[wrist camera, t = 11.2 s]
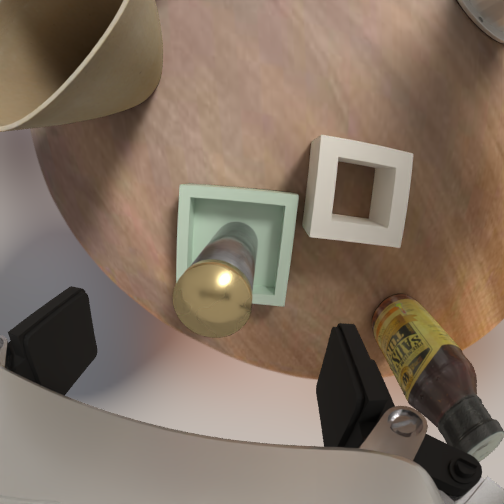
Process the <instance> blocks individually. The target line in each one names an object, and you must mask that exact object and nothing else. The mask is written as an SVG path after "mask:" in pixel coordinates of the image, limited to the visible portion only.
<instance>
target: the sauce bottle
mask: <svg viewBox="0 0 504 504" xmlns="http://www.w3.org/2000/svg"><path fill="white" fill-rule="evenodd" d="M372 326H373V328H372V329H373V332H374V337H375V339H376V341H377V343H378V345H379V347H380V349H381V351H382V353H383V354H384V356H385V358H386V360H387V362H388V364H389V366H390V368H391V370H392V371H393V374H394V375H395V377H396V379H397V381H398V383H399V385H400V387H401V389H402V391H403V393H404V395H405V397H406V399H407V401H408V403H409V404H410V405H411V406H412V407H414V408H415V409H416V410H417V411H419V412H420V413H421V414H423V415H424V416H425V417H427V418H428V419H429V420H430V421H431V422H432V423H433V424H434V425H435V426H436V427H438V430H439V431H440V433H441V434H442V435H443V437H444V438H445V440H446V442H447V444H448V445H450V446H452V447H455V448H457V449H459V450H461V451H463V452H466V453H468V454H470V455H472V456H473V457H475V458H476V459H477V460H478V461H479V462H480V461H481V460H483V459H484V458H485V457H487V456H488V455H489V454H490V453H491V452H492V451H493V450H494V449H495V448H496V447H497V446H498V445H499V444H500V442H501V441H502V439H503V437H504V431H503V429H502V427H501V426H500V424H499V422H498V421H497V420H494V419H492V418H491V416H490V414H489V413H488V411H487V410H486V408H485V407H484V405H483V404H482V401H481V399H480V398H479V397H478V396H477V389H476V387H477V384H476V383H477V380H476V373H475V370H474V367H473V366H472V364H471V363H470V362H469V360H468V359H467V358H466V357H465V356H464V355H463V353H462V350H461V349H460V348H459V346H458V345H457V344H456V343H455V342H454V341H453V340H452V339H451V337H450V336H449V335H448V334H447V333H446V332H445V331H444V329H443V328H442V327H441V326H440V325H439V324H438V323H437V321H436V320H435V319H434V318H433V317H432V316H431V315H430V314H429V313H428V312H427V311H426V309H425V308H424V307H423V306H422V305H421V304H420V303H419V302H417V301H416V300H415V299H414V298H412V297H410V296H408V295H405V294H397V295H393V296H391V297H389V298H387V299H386V300H384V301H383V302H382V303H381V304H380V306H379V307H378V308H377V309H376V311H375V312H374V316H373V318H372Z"/></svg>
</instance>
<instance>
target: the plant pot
mask: <svg viewBox="0 0 504 504" xmlns="http://www.w3.org/2000/svg"><path fill="white" fill-rule="evenodd" d="M162 65H163V43H162V34H161V27H160V20H159V16H158V11H157V6H156V3H155V0H0V132H2V131H3V132H4V131H12V130H20V129H29V128H39V127H49V126H56V125H63V124H69V123H75V122H80V121H86V120H91V119H95V118H100V117H104V116H108V115H111V114H115V113H118V112H121V111H124V110H127V109H130V108H132V107H135V106H137V105H139V104H140V103H142V102H143V101H145V100H146V99H147V98H148V97H149V96H150V95H151V94H152V93H153V92H154V90H155V89H156V87H157V85H158V83H159V81H160V78H161V74H162Z"/></svg>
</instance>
